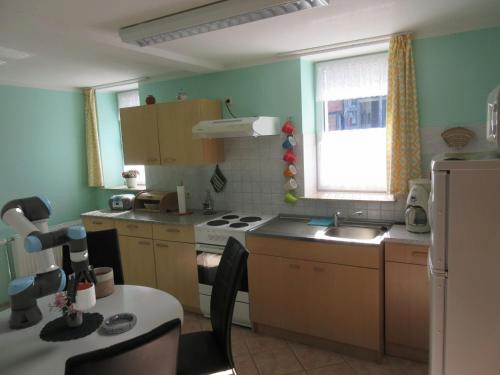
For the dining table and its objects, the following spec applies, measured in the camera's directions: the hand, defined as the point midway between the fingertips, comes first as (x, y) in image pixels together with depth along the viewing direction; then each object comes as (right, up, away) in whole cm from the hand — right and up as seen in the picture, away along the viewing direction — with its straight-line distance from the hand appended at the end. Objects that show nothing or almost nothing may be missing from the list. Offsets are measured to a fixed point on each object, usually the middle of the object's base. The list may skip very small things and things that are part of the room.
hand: (84, 303), depth 177 cm
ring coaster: (+14, -14, +9) cm, 21 cm away
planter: (-12, -9, +50) cm, 53 cm away
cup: (0, -1, 0) cm, 2 cm away
